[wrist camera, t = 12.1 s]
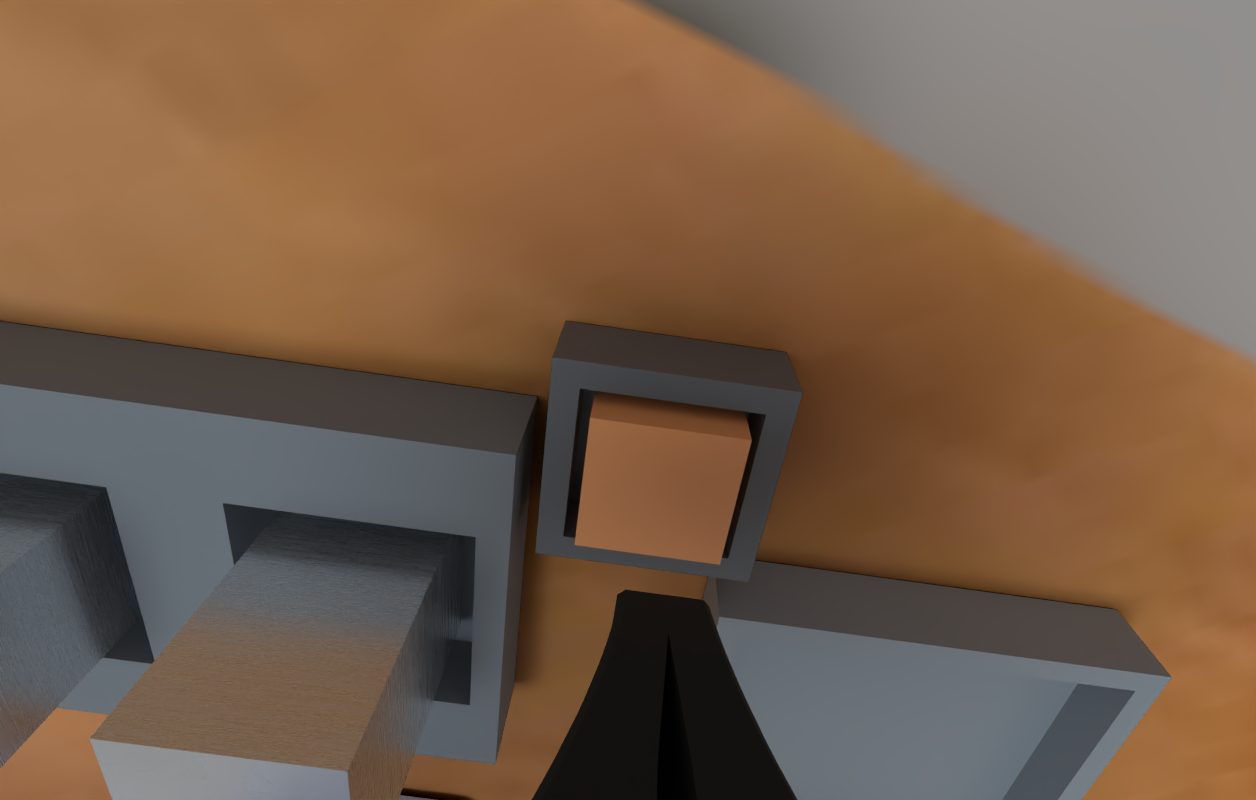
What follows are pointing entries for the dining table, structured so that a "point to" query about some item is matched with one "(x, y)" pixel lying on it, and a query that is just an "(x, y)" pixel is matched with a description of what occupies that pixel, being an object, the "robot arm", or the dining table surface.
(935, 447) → the dining table surface
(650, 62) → the dining table surface
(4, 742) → the block
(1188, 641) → the dining table surface
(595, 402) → the button
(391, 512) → the frame
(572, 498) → the button housing
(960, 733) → the shallow grey tray
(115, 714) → the billet
